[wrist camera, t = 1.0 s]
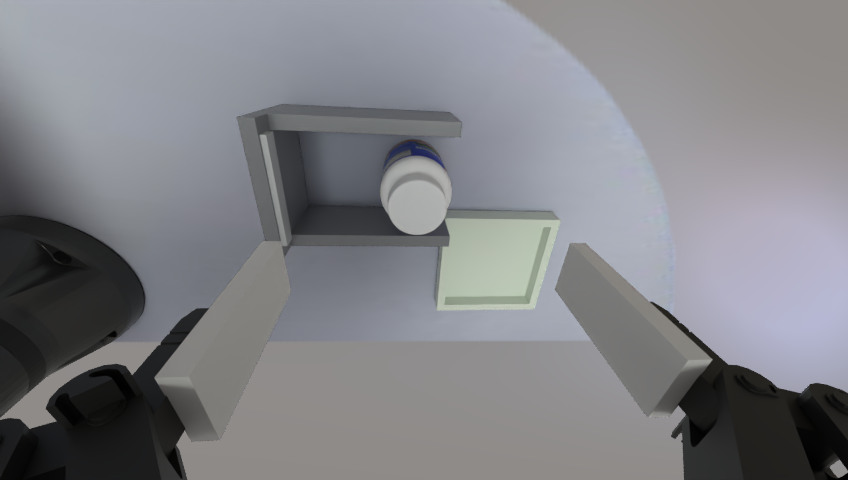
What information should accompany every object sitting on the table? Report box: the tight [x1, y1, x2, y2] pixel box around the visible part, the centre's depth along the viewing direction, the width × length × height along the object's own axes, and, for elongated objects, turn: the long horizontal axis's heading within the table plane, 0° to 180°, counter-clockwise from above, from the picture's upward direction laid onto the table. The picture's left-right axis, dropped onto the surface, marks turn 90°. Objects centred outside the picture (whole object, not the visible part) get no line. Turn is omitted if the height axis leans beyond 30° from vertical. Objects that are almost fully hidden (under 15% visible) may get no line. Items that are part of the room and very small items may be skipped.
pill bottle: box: [380, 140, 452, 235], centre depth 24 cm, size 5×5×10 cm
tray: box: [435, 210, 561, 310], centre depth 33 cm, size 12×12×2 cm
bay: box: [237, 104, 462, 257], centre depth 25 cm, size 14×10×8 cm
